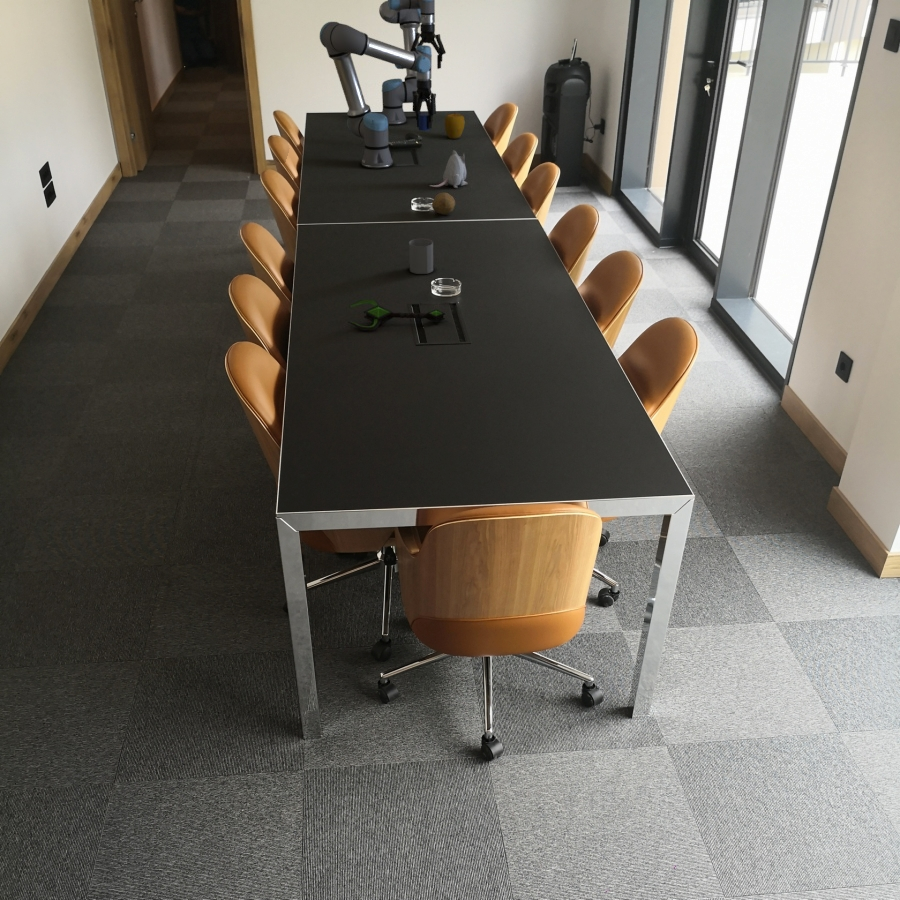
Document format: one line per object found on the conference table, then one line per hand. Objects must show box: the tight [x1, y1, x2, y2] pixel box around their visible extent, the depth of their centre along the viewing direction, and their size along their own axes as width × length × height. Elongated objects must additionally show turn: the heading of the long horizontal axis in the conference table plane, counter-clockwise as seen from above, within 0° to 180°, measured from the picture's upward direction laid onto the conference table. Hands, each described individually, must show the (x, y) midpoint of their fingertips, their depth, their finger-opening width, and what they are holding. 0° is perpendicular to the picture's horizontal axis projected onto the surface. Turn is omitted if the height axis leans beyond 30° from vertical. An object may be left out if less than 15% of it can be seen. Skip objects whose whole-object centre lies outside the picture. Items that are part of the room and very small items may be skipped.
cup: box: [408, 237, 434, 275], centre depth 305 cm, size 8×8×10 cm
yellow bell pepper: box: [444, 113, 466, 140], centre depth 472 cm, size 11×11×13 cm
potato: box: [431, 192, 456, 216], centre depth 360 cm, size 10×14×8 cm
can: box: [418, 112, 431, 132], centre depth 445 cm, size 6×6×7 cm
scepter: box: [348, 298, 446, 331], centre depth 269 cm, size 6×13×30 cm
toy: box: [428, 149, 468, 189], centre depth 390 cm, size 9×24×15 cm, turn 137°
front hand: (424, 127), depth 447 cm, fingers closed on can, 6 cm apart
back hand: (428, 67), depth 464 cm, fingers open, 13 cm apart
